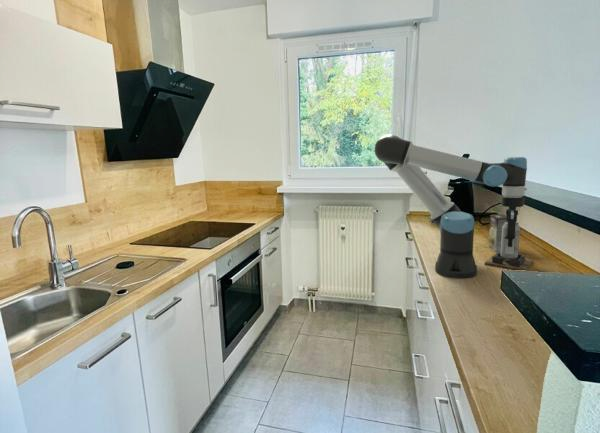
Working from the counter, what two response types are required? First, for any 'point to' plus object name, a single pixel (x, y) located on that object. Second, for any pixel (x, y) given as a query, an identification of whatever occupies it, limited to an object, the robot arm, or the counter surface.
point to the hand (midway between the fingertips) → (509, 251)
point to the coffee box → (496, 231)
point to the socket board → (509, 262)
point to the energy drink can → (516, 242)
